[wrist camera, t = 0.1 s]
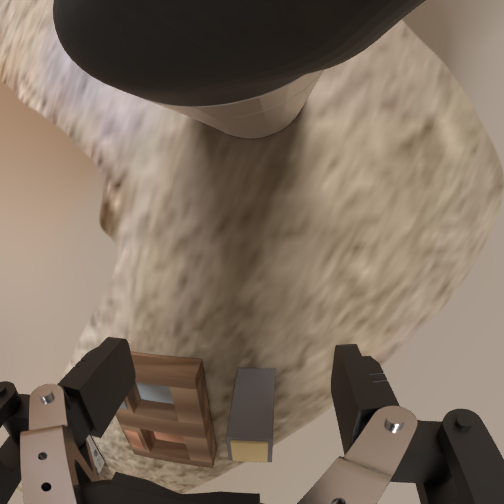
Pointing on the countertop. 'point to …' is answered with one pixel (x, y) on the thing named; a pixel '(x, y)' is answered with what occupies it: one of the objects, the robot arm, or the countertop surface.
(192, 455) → the dock
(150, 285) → the countertop surface
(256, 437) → the grey rectangular block
